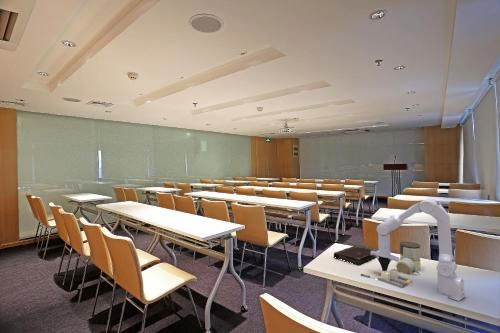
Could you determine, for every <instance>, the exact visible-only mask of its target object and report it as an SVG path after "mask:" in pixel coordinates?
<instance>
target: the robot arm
mask: <svg viewBox="0 0 500 333" xmlns="http://www.w3.org/2000/svg"><path fill="white" fill-rule="evenodd" d="M422 213H424V214H426V215H429V216H431V217H432V218H433V219H435V220H436V223H437V237H438V238H437V239H438V253H439V254H438V263H437V265H436V270H437V273H436V274H437V291H438V292H439V293H441V294H443V295H447V296H448V297H447V298H449V299H452V300H454V301H459V302H460V301H461V300H462V299H463V298H465V297H466V295H465V280H464V279H463V278H461V277H459V276H458V275H457V273H456V272H455V271H456V270H457V269H458V268H457V267H458V266H457V263H456V261H455V258H454V255H453V246H452V233H451V232H452V231H451V219H450V214H449V213H448V212H447V211H446V209H445V208H444V207H443V205H442V204H441V202H440V201H438V200H436V199H434V198H427V199H424V200H421V201H420V202H417V203H415V204H412V206H409V208H407V209H406V210H404V211H403V212H402V213H400V214H399V215H398V214H397V215H395V214H394V215H390V216H389V218H388V219H387V220H384V221H382V223H380V224H378V225H377V227H376V232H377V235H378V236H377V238H378V239H377V241H378V243H377V244H378V248H377V250H378V251H377V252H376V251H371V255H375V256H376V257H378V258H377V261H378V262H379V264H380V267H381V271H382V272H383V271H388V268H389V265H390V263H391V261H394V262H397V263H398V262H399V261H400V256H399V257H398V256H396V255H393V254H391V233H392V231H394V230H396V229H398V228H399V227H401V226H402V225H404V220H407V219H408V218H410V217H412V216H414V215H415V214H422Z"/></svg>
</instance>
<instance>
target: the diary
mask: <svg viewBox="0 0 500 333" xmlns="http://www.w3.org/2000/svg"><path fill="white" fill-rule="evenodd" d="M371 251H376V252H379V251H378V249H377V250H376V249H373V248H368V247H364V246H359V245H358V246H357V245H353V246H350V247H348V248H344V249H342V250H339V251H335V252H333V259H334V258H335V257H337V258H339V259H342V260H345V261H344V262H346V261H348V262H351V263H353V264H352V265H355V266H362V265H364V264H367V263H369V262H372V260H375V258H376V259H378V258H379V256H375V255H371ZM337 258H335V259H337ZM339 259H338V260H339ZM371 259H372V260H371ZM342 260H341V261H342ZM351 263H350V264H351Z"/></svg>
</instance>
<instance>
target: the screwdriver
mask: <svg viewBox="0 0 500 333" xmlns="http://www.w3.org/2000/svg"><path fill="white" fill-rule="evenodd" d="M360 276H361V277H365V278H367V279H374V280H377V281H379V280H378V278H373V277H371V276H370V275H367V274H364V273H360Z"/></svg>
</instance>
